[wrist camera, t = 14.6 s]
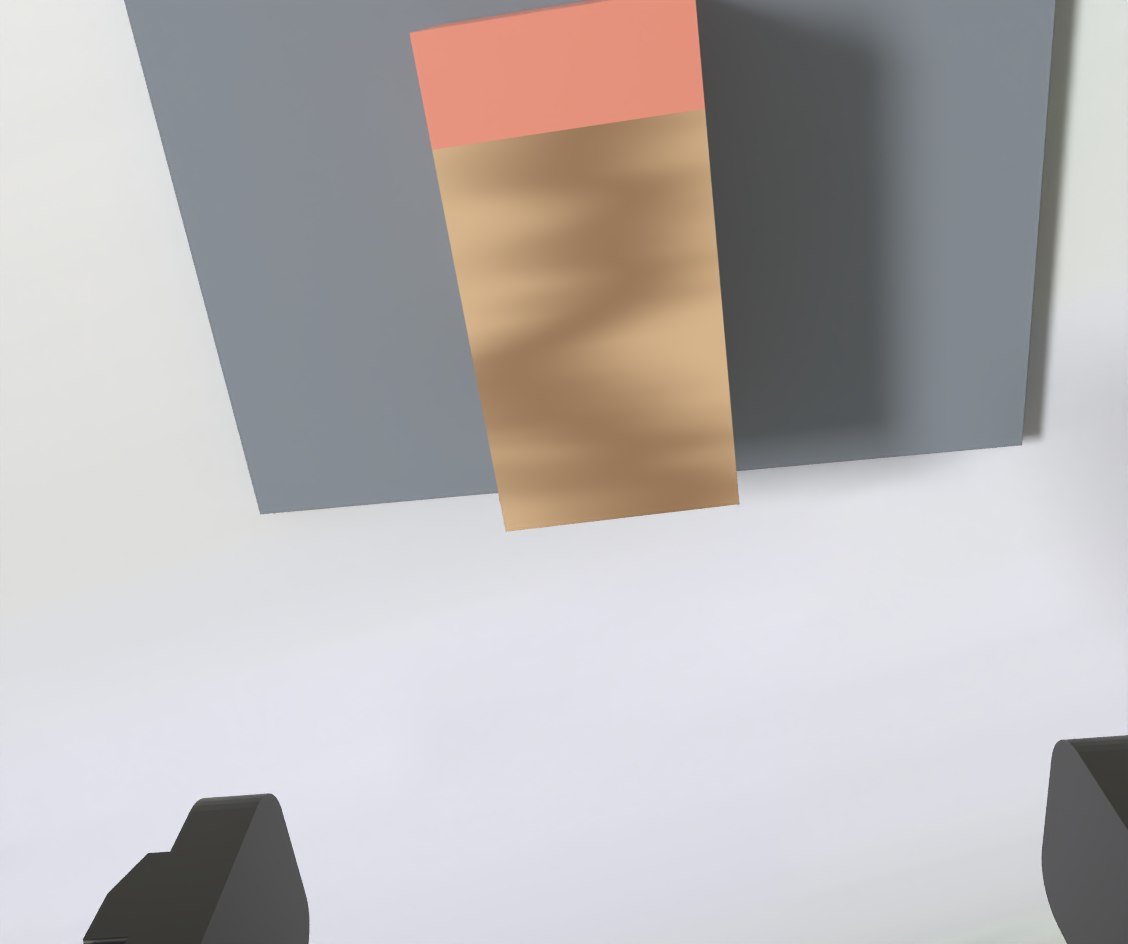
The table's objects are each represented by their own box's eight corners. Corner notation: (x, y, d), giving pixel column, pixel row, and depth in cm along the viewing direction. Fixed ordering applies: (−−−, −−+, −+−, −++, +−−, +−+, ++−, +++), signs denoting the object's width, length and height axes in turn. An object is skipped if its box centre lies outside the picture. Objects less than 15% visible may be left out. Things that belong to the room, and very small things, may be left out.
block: (505, 531, 22) (409, 32, 18) (521, 439, 27) (446, 23, 23) (739, 504, 22) (694, -14, 18) (714, 415, 27) (674, -14, 22)
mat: (268, 500, 29) (260, 514, 28) (121, -65, 23) (106, -66, 22) (1010, 432, 27) (1021, 445, 27) (1054, -190, 22) (1070, -196, 21)
